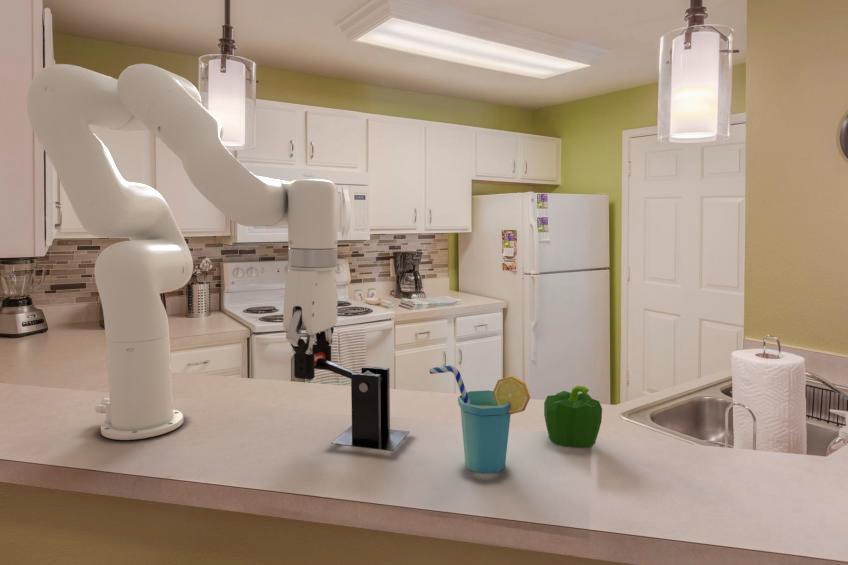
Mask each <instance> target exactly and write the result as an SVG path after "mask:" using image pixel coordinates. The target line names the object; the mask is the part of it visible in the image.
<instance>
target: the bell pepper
mask: <svg viewBox="0 0 848 565" xmlns="http://www.w3.org/2000/svg"><path fill="white" fill-rule="evenodd" d="M588 392H589V388H587V387H586V386H584V385H576V386H574V387H573V388H571V392H569V391H566V390H562V391H559V392H557V393H555V394H553V395H547V396H546V398H545V400H544V402H543V405H544V406H543V416H544V420H545V426H546V430H547V434H548V438H549V440H550V441H551V442H552V443H554V444H556V445H558V446H562V447H572V448H578V449H580V448H581V449H585V448H593V446H595V444H596V441H597V439H598V435H599V432H600V428H601V425H602V421H603V420H602V419H603V408H602V405H601V402H600V401H599V400H597V399H595V398H592V396H591V395H589V393H588Z"/></svg>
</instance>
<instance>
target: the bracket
mask: <svg viewBox="0 0 848 565" xmlns="http://www.w3.org/2000/svg"><path fill="white" fill-rule="evenodd" d="M360 370H361V372H358V373H355V372H356V371H355V372H354V373H352V374H351V379H350V391H351V392H350V394H351V395H350V396H351V398H350V399H351V425H350V427H348V428H347V429H346V430H345V431H344V432H343V433H341V434H340V435H339V436H338V437H337V438H335V439H334V440H333V441H332V442H331V445H340V446H346V447H347V446H348V447H357V448H362V449H363V448H364V449H370V450H371V449H373V450H381V451H387V452H388V451H389V452H394V450H396V448H398V446H399V445H400V444H401V443H402V442H403V441H404V439H405V438H407V436H408V435H409V434H410V431H406V430H399V429H391V411H390V410H391V399H390V398H391V395H390V394H391V392H390V389H391V388H390V387H391V386H390V382H391V380H390V378H391V377H390V376H391V375H390V367H381V366H380V367H379V366H368V365H363V366H362V367H361V368H360ZM367 370H368V371H370V372H373V373H375V374H367V373H364V372H366V371H367ZM380 375H381V376H383V380H382V383H381V387H380Z"/></svg>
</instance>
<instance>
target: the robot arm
mask: <svg viewBox="0 0 848 565" xmlns="http://www.w3.org/2000/svg"><path fill="white" fill-rule="evenodd" d="M28 87H29V88H28V91H27V96H26V97H27V98H26V109H27V110H26V111H27V115H28V121H29V123H30V127H31V129H32V131H33V133H34V136H35V137H36V139H37V141H38V142H39V144H40V146H41V147H42V150H44V152H45V154H46V156H47V157H48V159H49V161H50V162H51V165H52V166H53V168H54V170H55V173H56V175H57V177H58V180H59V182H60V184H61V186H62V188H63V191H64V192H65V194H66V197H67V198H68V201H69V203H70V205H71V208H72V209H73V211H74V214H75V215H76V217H77V220H78V221H79V223H80V225H81V226H82V228H83V229H84V230H85V231H86V233H87V234H88V233H89V234H90V235H91V236H92V237H93V236H94V237H97V238H104V239H119V238H128V239H129V240H122V241H118V242H116V243H113V244H111V245H108V246H107V247H106V248H104V249H103V250H102V251H101V252H100V253H99V255H98V256H97V258H96V260H95V263H94V268H93V269H94V280H95V284H96V288H97V292H98V295H99V298H100V303H101V308H102V312H103V313H102V314H103V321H104V322H103V323H104V335H105V347H106V362H107V364H106V365H107V380H108V394H109V397H104V398H103V399H102V400H101V401H100V404H97V405H96V406H95V412H96V413H99V414H105V418H106V420H104V422H102V424H100V434H101V435H102V436H103V437H104V438H107V439H110V440H116V441H133V440H142V439H148V438H153V437H158V436H161V435H164V434H167V433H170V432H172V431H174V430H177V429H178V428H179V427H180V426H182V425H183V423H184V413H182V412H181V411H179V410H177V409H174V399H173V398H174V397H173V376H172V360H171V359H172V358H171V339H170V338H171V336H170V325H169V318H168V314H167V311H166V308H165V305H164V303H163V301H162V299H161V296H160V294H165V293H171V292H173V291H177V290H179V289H181V288H184V287H185V285H187V284H188V282H189V281H190V279H191V278H192V275H193V272H194V261H193V256H192V253H191V250H190V248H189V245H188V244H187V241H186V240H185V237H184V236H183V233H182V231H181V229H180V227H179V224H178V223H177V220H176V219H175V216H174V214H173V212H172V210H171V208H170V206H169V204H168V202H167V201H166V199H165V198H164V197H163V195H162V194H161V193H160V192H158V191H157V190H156V189H155V188H153V187H151V186H149V185H147V184H144V183H139V182H131V181H127V180H125V179H124V178H123V176H122V175H121V173H120V171H119V169H118V168H117V166H116V164H115V161H114V159H113V156H112V155H111V153H110V151H109V149H108V147H107V146H106V145H105V143H104V142H103V141H102V140H101V139H100V138H99V137H98V136H97V135H96V133H94V131H93V130H92V129H91V127H90V126H89V125H92V126H97V127H101V128H104V129H110V130H115V131H127V132H128V131H129V132H130V131H150V132H151V133H152V134H153V135H154V136H155V137H157V138H158V139H159V140H160V141H161V143H163V144H164V145H165V146H166V147H167V148H168V149H169V150H170V151H171V152H172V153H173V154H174V155H175V156H177V158H178V159H180V161H181V164H182V167H183V169H184V171H185V173H186V175H187V177H188V179H189V180H190V182H191V184H192V185H193V186H194V187H195V189H196V190H197V191H198V192H199V194H201V195H202V196H203V197H205V199H206V200H207V201H208V202H210V203H211V204H212V205H213V206H214V207H215V208H216V209H217V210H218V211H219V212H220V213H221V214H222V215H224V216H225V217H227V218H228V219H229V220H230V221H232V222H234V223H235V224H238V225H240V226H244V227H280V226H287V240H288V241H287V245H288V250H287V252H288V254H287V255H288V257H287V259H288V261H287V262H288V269H287V273H286V277H285V286H284V294H283V295H284V296H283V312H282V314H283V316H282V317H283V318H282V328H283V331H284V333H285V339H286V340H287V341H288V343H289V344H290V346H291V347H292V349H291V350H292V354H293V365H294V366H293V373H294V374H293V376H294V378H295V379H299V380H300V379H302V380H310V381H311V380H314V379H315V377H316V376H315V370H322V371H328V370H327V369H324V368H322V367H319V366H317V365H315V364H314V355H315V354H317V353H319V352H323V353H324V354H325V355H326V359H325V360H327V361H330V362H332V345H333V341H334V340H333V334H334V332H335V326H336V324H337V322H338V310H339V308H338V304H339V303H338V286H337V275H336V270H338V198H339V197H338V187H337V185H336V183H334V182H333V181H331V180H327V179H319V178H299V179H298V178H297V179H294V180H292V181H290V180H289V181H287V180H283V179H276V178H272V177H271V178H270V177H267V176H261V175H255V173H253V171H250V169H249V168H247V167H246V166H245V165H244V164H243V163H242V162H240V160H238V159H237V157H235V156H234V155H233V154H232V152H230V151H229V149H227V147H226V146H225V145H224V143H223V142H222V139H223V136H224V127H223V124H222V123H221V121H220V120H219V119H218V118H216V117H215V116H214V115H213V114H212V113H211V112H210V111H209V110H208V109H207V108H205V106H203V102H202V97H201V95H200V92H199V91H198V89H197V87H196V86H195V85H194V84H193V83H192V82H191V81H189V80H188V79H187V78H185V77H183V76H181V75H178V74H176V73H173V72H171V71H170V70H167V69H164V68H162V67H160V66H157V65H154V64H151V63H135V64H132V65H129V66H127V67H126V68H125V69H124V70H123V71H121V73H120V74H119V77H118V78H115V77H112V76H110V75H109V76H108V75H106V74H103V73H100V72H97V71H94V70H91V69H88V68H85V67H83V66H79V65H74V64H67V63H54V64H50V65H47V66H44V67H43V68H41V69H40V70H39V71H38V72H37V73H36V74H35V75H34V77H33V78H32V80H31V83H30V85H29V86H28ZM302 330H305V332H302ZM304 338H305V339H306V341H305V340H304Z"/></svg>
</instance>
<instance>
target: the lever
mask: <svg viewBox="0 0 848 565" xmlns="http://www.w3.org/2000/svg"><path fill="white" fill-rule="evenodd" d="M325 359H326V355H325V354H324V353H323V352H319V353H317V354H315V355H314V364H315V365H317V366H319V367H322V368H324V369H327V370H326V371H329V372H331V373H335V374H337V375H339V376H342V377H344V378H347V379H350V380H351V374H352V373H354V372H355V373H359V372H358V371H355V370H353V369H351V368H347V367H345V366H342V365H340V364H337V363H334V362H332V361H331V362H330V361H327V360H325ZM364 373H367V374H375V373H373V372H370V371H368V370H367V371H366V372H364ZM382 380H383V376H381V375H380V387H381V383H382Z"/></svg>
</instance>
